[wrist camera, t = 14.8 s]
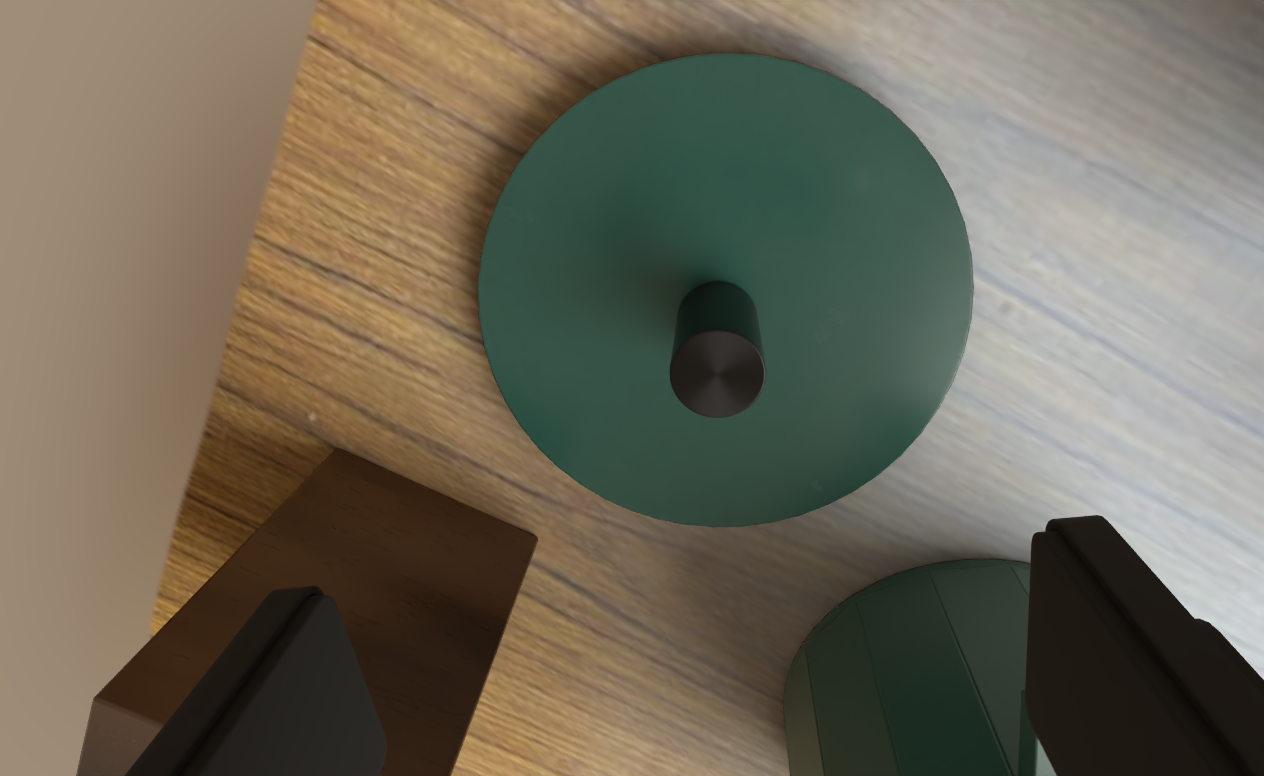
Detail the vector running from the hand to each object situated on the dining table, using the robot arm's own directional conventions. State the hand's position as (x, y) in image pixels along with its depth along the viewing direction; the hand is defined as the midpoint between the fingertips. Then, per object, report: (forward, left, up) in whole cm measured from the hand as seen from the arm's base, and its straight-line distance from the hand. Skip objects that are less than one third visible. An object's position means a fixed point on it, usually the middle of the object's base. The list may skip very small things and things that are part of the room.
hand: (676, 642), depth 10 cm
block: (-12, -9, -16) cm, 22 cm away
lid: (+1, 0, -15) cm, 15 cm away
